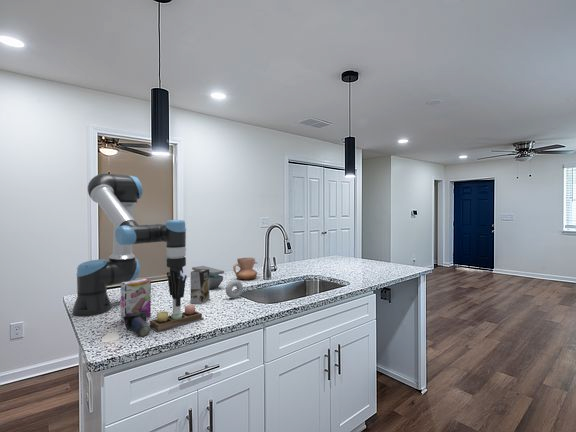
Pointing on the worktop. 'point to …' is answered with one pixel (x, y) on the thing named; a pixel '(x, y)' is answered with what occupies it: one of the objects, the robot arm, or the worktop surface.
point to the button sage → (176, 316)
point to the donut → (238, 290)
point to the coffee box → (199, 286)
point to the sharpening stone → (212, 276)
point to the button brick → (189, 309)
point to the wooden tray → (175, 322)
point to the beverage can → (137, 323)
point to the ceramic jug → (245, 268)
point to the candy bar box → (135, 297)
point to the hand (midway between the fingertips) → (176, 313)
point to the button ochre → (162, 316)
